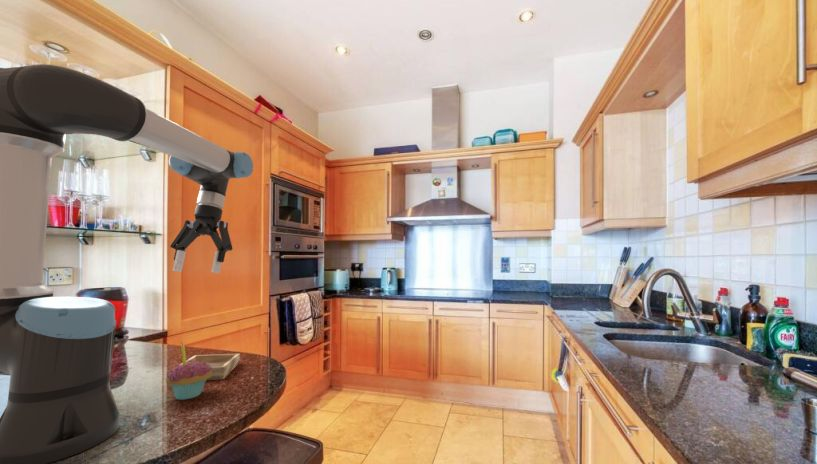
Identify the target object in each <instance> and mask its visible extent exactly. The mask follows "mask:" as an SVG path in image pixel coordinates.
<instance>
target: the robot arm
mask: <svg viewBox="0 0 817 464" xmlns="http://www.w3.org/2000/svg"><path fill="white" fill-rule="evenodd" d="M73 134H74V135H76V134H79V135H81V134H82V135H93V136H94V135H95V136H102V137H106V138H110V139H113V140H115V141H118V142H123V143H124V142H129V141H132V142H134V143H137V144H139V145H142V146H145V147H147V148H150V149H152V150H155V151H158V152H160V153H163V154H166V155H168V156H169V159H168V165H169V168H170V169H171V170H172V171H174V172H175V173H177V174H178V175H180V176H182V177H185V178H187V179H189V180H191V181H192V182H195V183H197V185H200V186H199V187H200V188H199V190H198V196H197V201H196V204H197V205H196V206H195V209H194V214H193V215H194V217H195V219H194V221H191V220H188V219H187V220H184V224H183V227H182V228H181V230H180V231H179V232H178V234H177V235H176V237H175V238H174V240H173V241H172V243H171V244H170V246H169V247H170V248H171V249H174V250H175V252H174V255H173V260H174V262H173V266H172V271H173V272H179V273H180V272H181V273H183V269H184V268H183V267H184V263H185V259H186V255H187V251H186V249H187V248H188V247H189V246H190V245H191V244H192V243H193V242H195V240H196V239H197V238H198V237H200V236H209V237H211V240H212V241H213V244H214V245H215V247H216V249H217V250H216V251H214V256H213V262H212V266H211V270H210V271H211V272H210V273H215V274H221V270H222V269H221V268H222V263H224V262H225V256H226V253H227V252H229V251H232V250H233V246H232V241H231V238H230V237H231V236H230V233H229V229H228V226H229V222H226V221H224V220H222V217H223V211H224V210H222V209H224V205H225V201H226V200H225V199H226V195H227V189H228V186H229V181H230V180H231V179H238V180H239V179H243V178H248V177H250V176H251V175H252V173H253V171H254V163H253V159H252V158H251V157H252V156H250V154H248V153H246V152H245V151H244V152H243V151H241V152H240V151H230V150H228V149H226V148H224V147H222V146H220V145H218V143H214V142H213V141H211V140H209V139H208V138H205V137H203V136H201V135H199V134H197V133H195V132H193V131H192V130H189V129H187V128H185V127H183V126H181V125H179V123H176V122H173V121H172V120H170V119H168V118H166V117H164V116H162V115H160V114H158V113H156V112H154V111H152V110H150V109H149V108H147V107H146V105H145V104H144V102H143V101H142V100H141V99H139V98H138V97H136V96H135V95H132V94H131V93H128V92H126V91H125V90H123V89H122V88H118V87H117V86H114V85H112V84H110V83H108V82H106V81H104V80H101V79H99V78H96V77H94V76H92V75H89V74H87V73H84V72H80V71H79V70H75V69H72V68H67V67H65V66H61V65H54V64H45V63H44V64H33V65H32V64H31V65H24V66H13V67H0V376H10V379H9V387H8V397H7V402H6V403H7V404H6V406H5V408H4V410H3V412H2V414H1V416H0V464H49V463H53V462H57V461H59V460H63V459H66V458H69V457H71V456H75V455H77V454H80V453H82V452H85V451H87V450H89V449H91V448H93V447H95V446H97V445H99V444H101V443H103V442H104V441H106V440H107V439H109V438H110V437H111V436H113V435H114V434H115V433H116V432H117V431H118V429H119V426H120V417H121V415H120V411H119V409H118V406H117V402H116V399H115V397H114V394H113V391H112V388H111V386H110V381H111V370H112V362H113V352H114V342H115V333H116V326H117V320H116V307H115V305H114V304H113V303H112V302H110V301H109V300H105V299H103V298H98V297H91V296H90V297H89V296H71V295H69V296H65V295H64V296H54V290H53V289H51V288H50V287H49V286H47V285H46V284H44V282H43V275H44V263H45V262H44V261H45V252H46V251H45V249H46V239H47V238H46V237H47V236H46V235H47V224H48V213H49V212H48V210H49V200H50V199H49V198H50V187H51V177H52V176H51V174H52V161H53V158H55V157H56V156H59V155H60V154H64V152H65V147H66V145H65V144H66V135H73ZM217 229H218V230H219V231H218V230H217Z"/></svg>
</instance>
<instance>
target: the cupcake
mask: <svg viewBox="0 0 817 464" xmlns="http://www.w3.org/2000/svg"><path fill="white" fill-rule="evenodd" d="M180 344H181V346H180V349H181V358H182V360H181V362H182V363H183V364H181V363H180V364H181V365H180V364H177V365H176V366H175V367H173V368H172V369H171V370H170V371H169V372H168V373H167V375H166V379H165V381H166V385H170V387H171V389H172V391H173V394H174V398H175V399H176V400H188V399H189V400H190V399H193V398H196V397H198V396H200V395H201V394H202V392H203V391H202V390H203V388H204V386H205V383H206V382H207V381H208V380H207V379H208V378H210V377H211V375H212V370H211V369H212V368H211V367H210V366H209V365H208V364H206V363H204V362H200V361H198V362H197V361H194V362H187V363H186V360H187V357H186V347H185V344H183V342H181V343H180Z"/></svg>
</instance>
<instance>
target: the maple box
mask: <svg viewBox="0 0 817 464" xmlns="http://www.w3.org/2000/svg"><path fill="white" fill-rule="evenodd" d="M194 361H197V362H198V361H200V362H204V363H206V364H208V365H209V366H210V367H211V368H212V369H211V370H212V375H211V377H210V378H208V379H207V380H206V381H214V380H215V381H216V380H218V381H219V380H224V379H225V378H226V377H227V376H229V375H230V374H231V373H232V372H233V371H234V370H235V369H236V368H237V367H238V366H239V365H240V364H241V363H240V361H241V353H222V354H221V353H218V354H197V355H196V354H195V355H193V356H191V357H189V358H188V359H186V363H187V362H194ZM239 363H240V364H239ZM181 364H183V362H182V363H180V364H179V365H181ZM238 364H239V365H238ZM237 365H238V366H237ZM236 366H237V367H236ZM235 367H236V368H235ZM234 368H235V369H234ZM233 369H234V370H233ZM232 370H233V371H232ZM231 371H232V372H231ZM230 372H231V373H230Z"/></svg>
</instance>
